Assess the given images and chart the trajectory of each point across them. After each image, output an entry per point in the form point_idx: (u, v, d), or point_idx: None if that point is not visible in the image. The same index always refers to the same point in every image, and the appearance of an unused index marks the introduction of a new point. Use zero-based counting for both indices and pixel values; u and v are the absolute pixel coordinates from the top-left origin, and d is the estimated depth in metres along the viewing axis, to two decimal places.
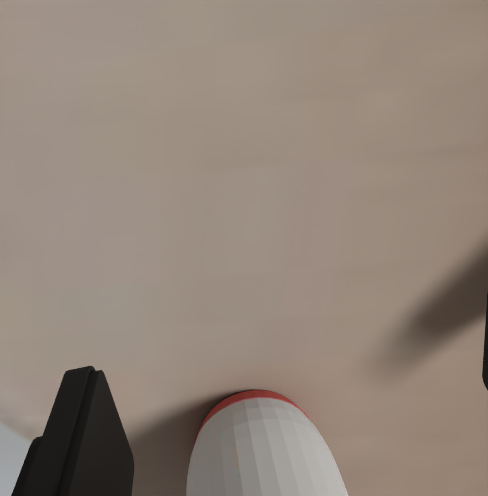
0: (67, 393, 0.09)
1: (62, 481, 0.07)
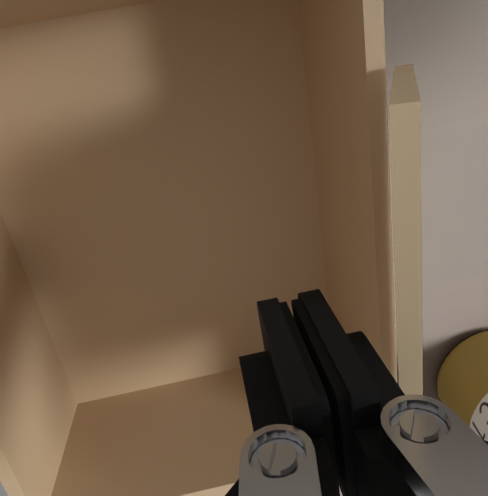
0: (271, 316, 0.11)
1: (308, 374, 0.09)
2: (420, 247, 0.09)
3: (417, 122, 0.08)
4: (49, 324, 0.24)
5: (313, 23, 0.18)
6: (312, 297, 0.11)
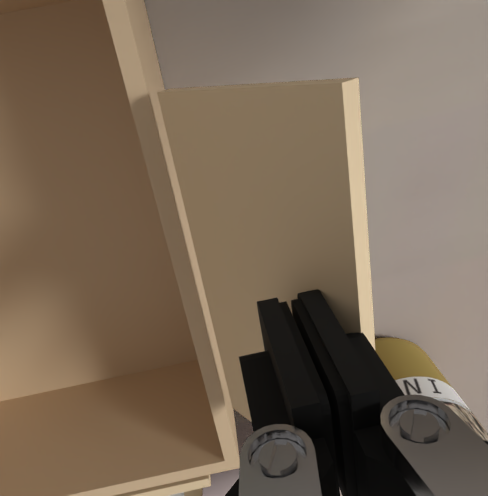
0: (271, 316, 0.11)
1: (308, 374, 0.09)
2: (366, 210, 0.10)
3: (356, 97, 0.09)
4: None
5: None
6: (312, 298, 0.11)
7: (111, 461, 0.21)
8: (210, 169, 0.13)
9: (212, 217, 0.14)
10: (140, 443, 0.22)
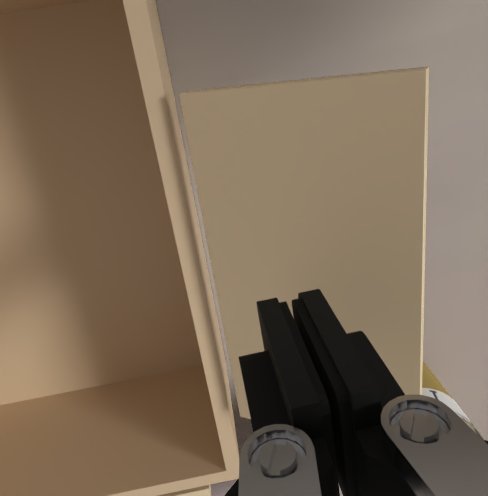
0: (271, 316, 0.11)
1: (308, 374, 0.09)
2: (426, 182, 0.11)
3: (426, 83, 0.10)
4: None
5: None
6: (313, 297, 0.11)
7: (109, 469, 0.21)
8: (247, 166, 0.13)
9: (242, 214, 0.14)
10: (139, 451, 0.21)
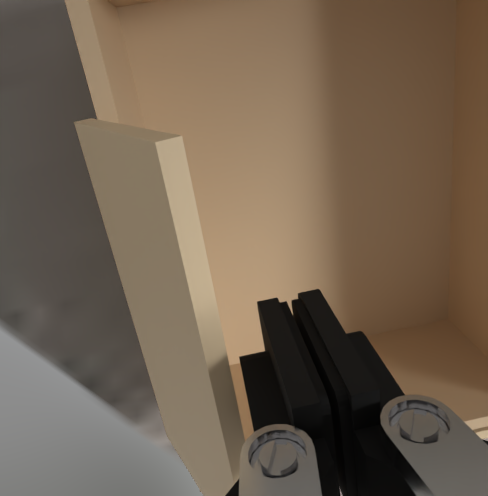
0: (271, 316, 0.11)
1: (308, 374, 0.09)
2: None
3: None
4: None
5: None
6: (313, 297, 0.11)
7: None
8: None
9: None
10: (430, 393, 0.22)
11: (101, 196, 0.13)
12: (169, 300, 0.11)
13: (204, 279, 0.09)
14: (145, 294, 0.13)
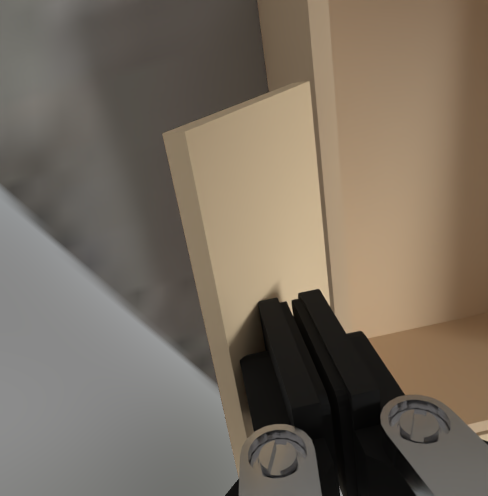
0: (271, 315, 0.11)
1: (309, 374, 0.09)
2: None
3: None
4: None
5: None
6: (312, 297, 0.11)
7: None
8: None
9: None
10: None
11: None
12: None
13: (206, 270, 0.09)
14: None
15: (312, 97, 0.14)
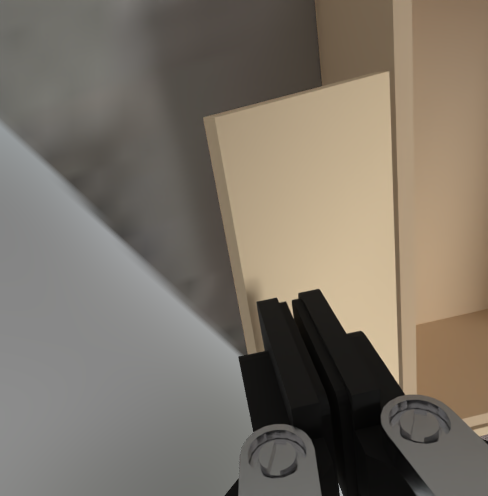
0: (271, 316, 0.11)
1: (308, 374, 0.09)
2: None
3: None
4: None
5: None
6: (313, 297, 0.11)
7: None
8: None
9: None
10: None
11: None
12: None
13: (231, 227, 0.12)
14: None
15: None
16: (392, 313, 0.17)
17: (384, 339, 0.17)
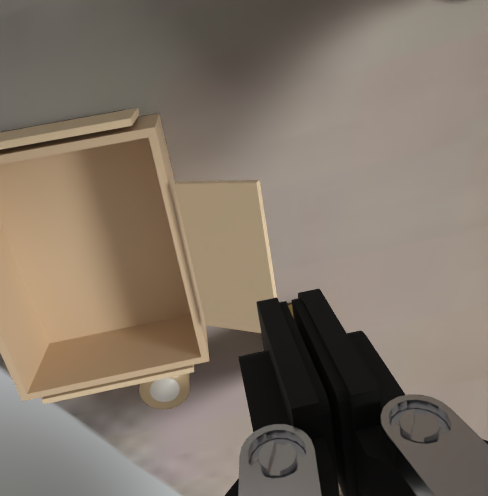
0: (270, 316, 0.11)
1: (308, 374, 0.09)
2: None
3: (259, 185, 0.30)
4: (32, 296, 0.43)
5: None
6: (313, 297, 0.11)
7: (142, 360, 0.40)
8: (201, 211, 0.33)
9: (200, 230, 0.34)
10: (157, 352, 0.41)
11: None
12: None
13: None
14: None
15: None
16: None
17: None
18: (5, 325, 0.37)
